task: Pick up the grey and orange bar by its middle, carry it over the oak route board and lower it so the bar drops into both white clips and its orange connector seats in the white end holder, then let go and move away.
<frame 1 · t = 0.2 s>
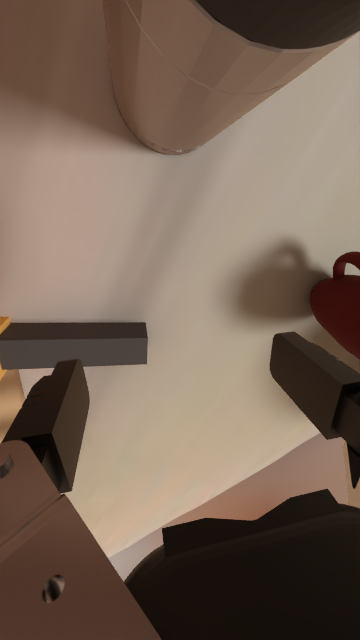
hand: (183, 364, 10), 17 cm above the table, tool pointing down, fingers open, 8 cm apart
grey and orange bar: (66, 335, 27), on the table
mug: (320, 285, 31), on the table
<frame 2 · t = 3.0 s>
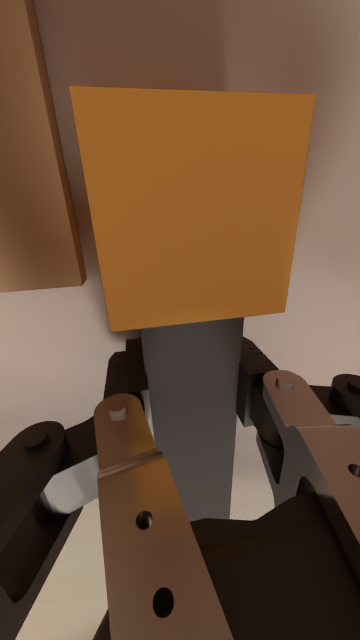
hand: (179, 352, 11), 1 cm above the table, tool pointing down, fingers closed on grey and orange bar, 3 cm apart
grey and orange bar: (178, 378, 13), on the table, touching gripper
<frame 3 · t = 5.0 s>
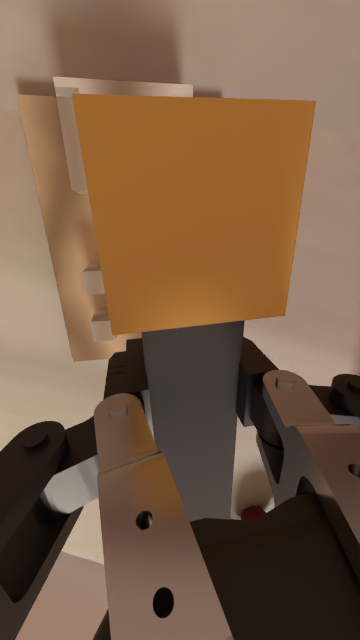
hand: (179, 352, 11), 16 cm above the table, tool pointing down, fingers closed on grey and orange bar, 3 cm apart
route board: (138, 250, 25), on the table
grey and orange bar: (179, 380, 13), point 15 cm above the table, touching gripper
when the fingers open (4 cm above the table, at t = 7.1 s): grey and orange bar drops 2 cm, resting on route board.
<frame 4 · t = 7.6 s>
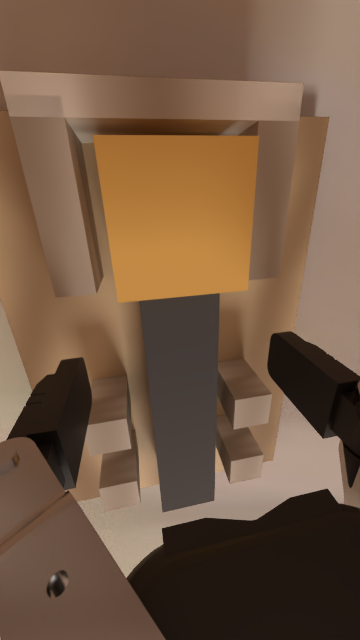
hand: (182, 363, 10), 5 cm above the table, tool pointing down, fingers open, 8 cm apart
route board: (168, 346, 16), on the table
grey and orange bar: (172, 355, 15), point 1 cm above the table, touching route board
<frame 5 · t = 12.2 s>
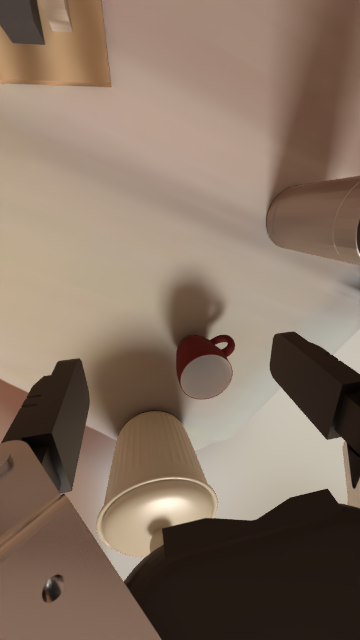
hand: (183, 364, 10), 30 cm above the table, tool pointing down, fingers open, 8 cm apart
mug: (196, 340, 45), on the table
canister: (151, 430, 52), on the table
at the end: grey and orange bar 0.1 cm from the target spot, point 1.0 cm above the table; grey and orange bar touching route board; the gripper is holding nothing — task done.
